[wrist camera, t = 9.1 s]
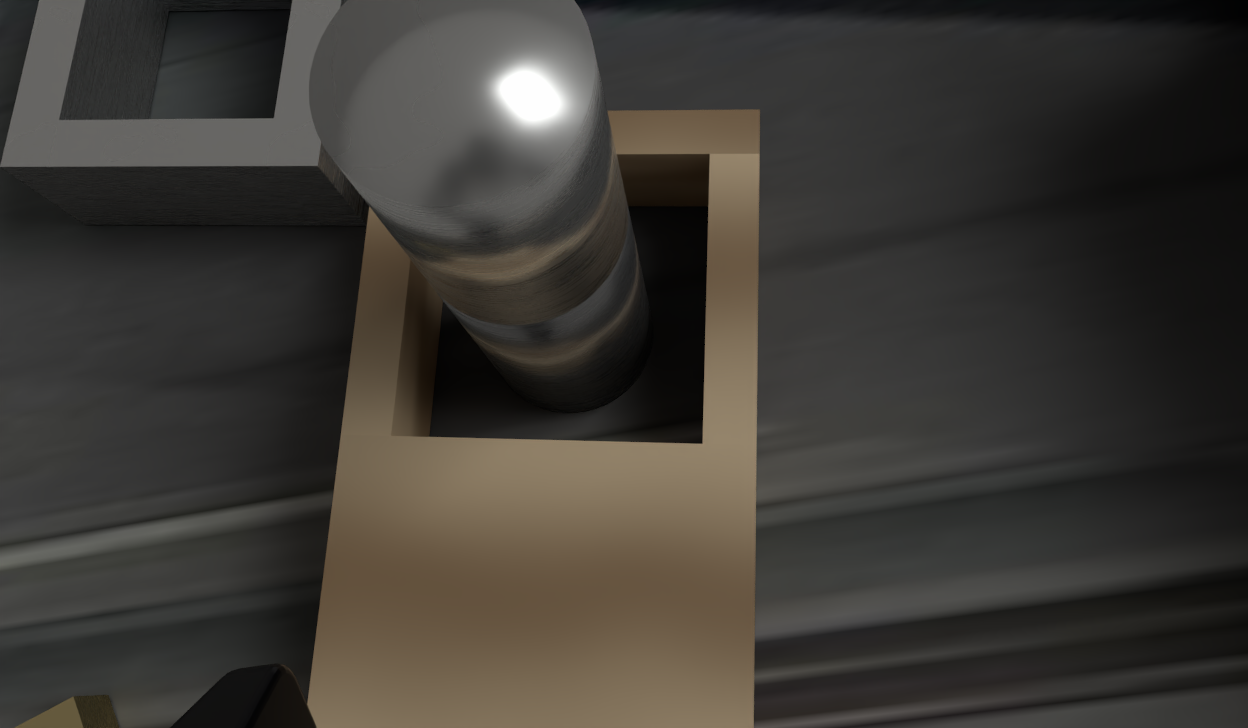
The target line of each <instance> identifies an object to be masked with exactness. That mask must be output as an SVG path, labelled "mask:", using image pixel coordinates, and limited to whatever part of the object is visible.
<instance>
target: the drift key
mask: <svg viewBox="0 0 1248 728" xmlns="http://www.w3.org/2000/svg"><path fill="white" fill-rule="evenodd" d="M15 728H119V725H118V722H117V719H116V716H115V713H114V710H113V707H112V704H111V701H110V698H109V695H96V696H75V697H72V698H70V699H68V700H66V701H64V702H62V703H60V704H58V705H57V706H55V707H53V708H51V709H49V710H47V711H45V712H43V713H41V714H39V715H38V716H36V717H34V718H32V719H30V720H28V721H26V722H24V723H22V724H21V725H19V726H17V727H15Z"/></svg>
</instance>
